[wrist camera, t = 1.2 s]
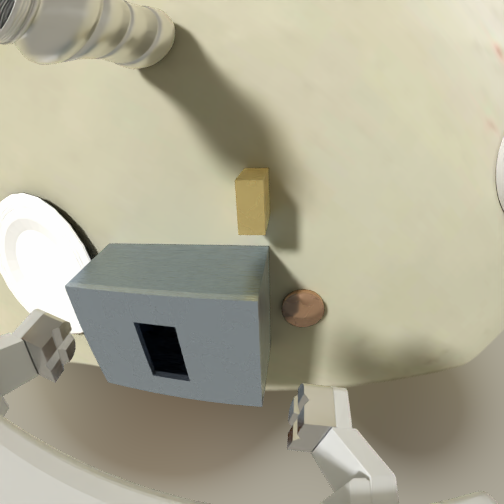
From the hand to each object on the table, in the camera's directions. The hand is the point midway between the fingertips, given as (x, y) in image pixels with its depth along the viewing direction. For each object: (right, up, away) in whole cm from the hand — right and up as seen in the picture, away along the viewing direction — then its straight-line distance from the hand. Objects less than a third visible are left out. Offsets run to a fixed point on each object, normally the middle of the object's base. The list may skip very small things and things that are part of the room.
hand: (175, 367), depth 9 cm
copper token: (+9, -3, +28) cm, 29 cm away
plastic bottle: (-8, +25, +15) cm, 30 cm away
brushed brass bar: (+3, +10, +22) cm, 24 cm away
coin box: (-5, -2, +29) cm, 29 cm away
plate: (-30, +2, +31) cm, 43 cm away
